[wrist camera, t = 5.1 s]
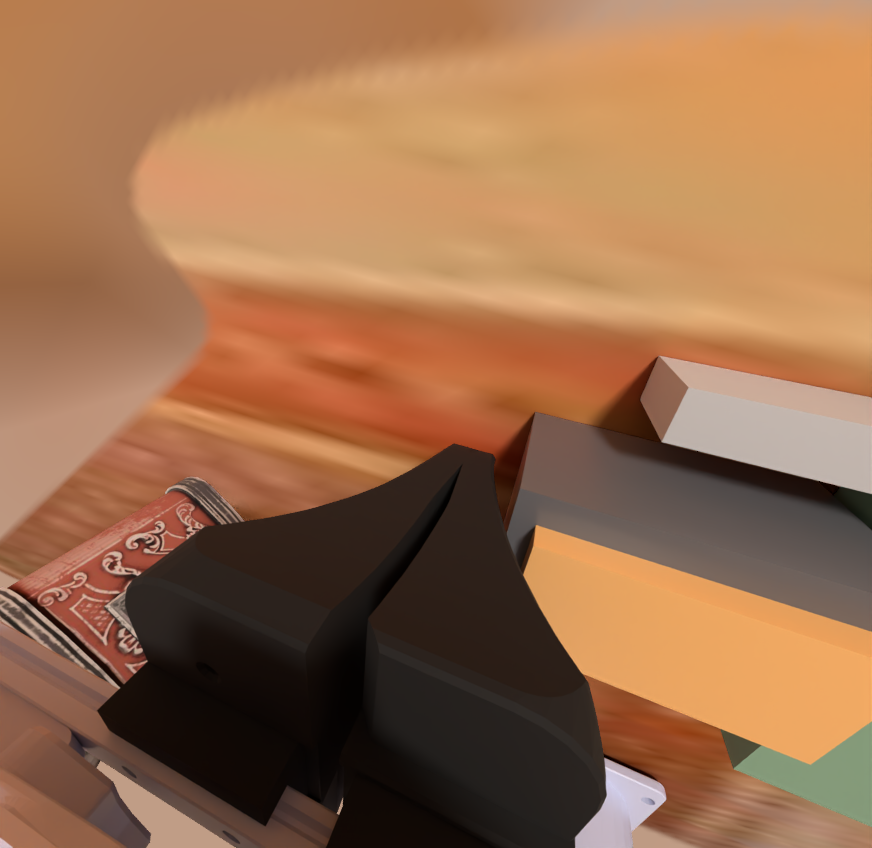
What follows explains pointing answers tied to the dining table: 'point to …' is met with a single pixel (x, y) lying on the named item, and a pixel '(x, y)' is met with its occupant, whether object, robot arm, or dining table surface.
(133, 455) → the dining table surface
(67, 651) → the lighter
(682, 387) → the deck
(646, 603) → the grey box orange face
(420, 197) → the dining table surface
